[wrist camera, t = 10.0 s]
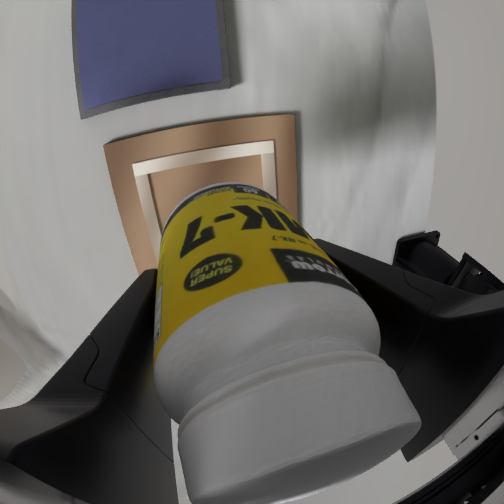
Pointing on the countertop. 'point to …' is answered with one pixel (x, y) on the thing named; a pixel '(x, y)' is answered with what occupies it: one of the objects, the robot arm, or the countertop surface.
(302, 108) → the countertop surface
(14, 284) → the countertop surface
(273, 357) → the supplement bottle
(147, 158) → the marked board
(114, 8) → the ink pad
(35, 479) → the robot arm
